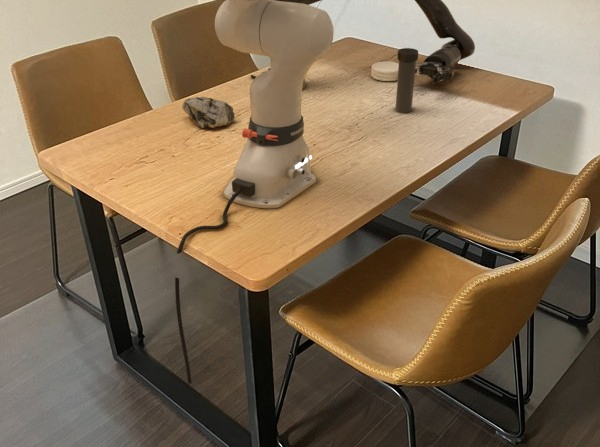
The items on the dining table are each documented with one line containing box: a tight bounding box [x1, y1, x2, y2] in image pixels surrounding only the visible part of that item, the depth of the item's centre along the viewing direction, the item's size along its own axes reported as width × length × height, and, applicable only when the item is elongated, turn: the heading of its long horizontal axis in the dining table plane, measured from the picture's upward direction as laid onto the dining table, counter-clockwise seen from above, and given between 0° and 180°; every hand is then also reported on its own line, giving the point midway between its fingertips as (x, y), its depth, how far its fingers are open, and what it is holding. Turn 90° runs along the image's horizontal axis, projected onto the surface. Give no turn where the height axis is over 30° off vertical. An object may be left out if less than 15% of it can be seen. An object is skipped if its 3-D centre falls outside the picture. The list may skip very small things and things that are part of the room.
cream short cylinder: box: [370, 61, 399, 82], centre depth 199 cm, size 10×10×4 cm
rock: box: [181, 96, 236, 129], centre depth 170 cm, size 15×10×7 cm
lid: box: [397, 47, 419, 62], centre depth 168 cm, size 6×6×2 cm
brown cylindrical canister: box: [395, 60, 417, 114], centre depth 172 cm, size 4×4×16 cm
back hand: (419, 77), depth 181 cm, fingers open, 8 cm apart
